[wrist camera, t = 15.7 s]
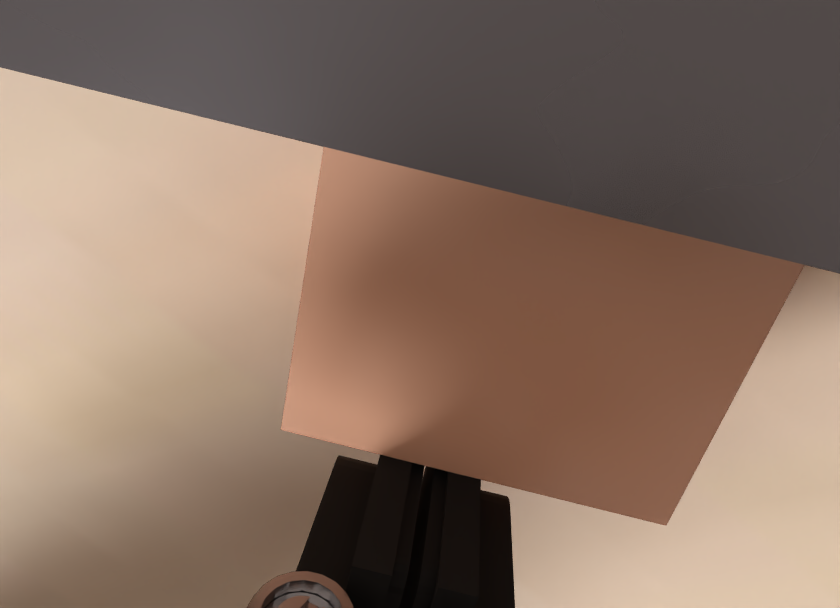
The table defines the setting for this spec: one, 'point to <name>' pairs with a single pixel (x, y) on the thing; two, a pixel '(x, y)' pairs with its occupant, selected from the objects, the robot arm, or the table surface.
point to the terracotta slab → (520, 336)
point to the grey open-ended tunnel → (504, 95)
